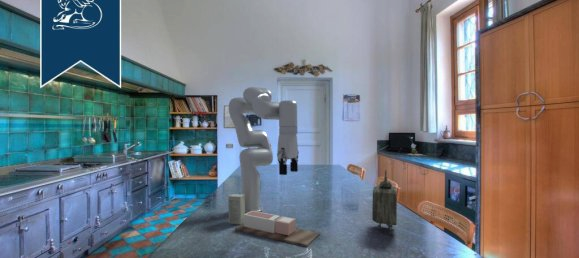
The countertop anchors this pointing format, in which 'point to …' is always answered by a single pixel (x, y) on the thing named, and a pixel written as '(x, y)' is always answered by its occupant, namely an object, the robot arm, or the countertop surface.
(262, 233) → the board
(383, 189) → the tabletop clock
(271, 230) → the white box with vents
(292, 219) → the stub
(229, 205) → the skincare box
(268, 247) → the countertop surface
